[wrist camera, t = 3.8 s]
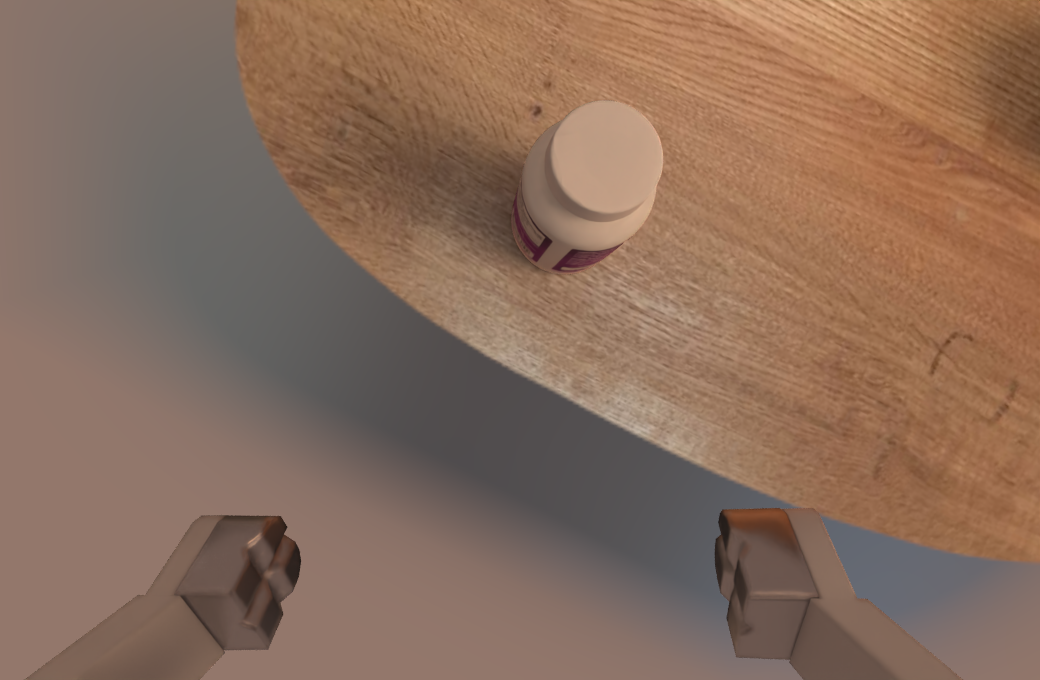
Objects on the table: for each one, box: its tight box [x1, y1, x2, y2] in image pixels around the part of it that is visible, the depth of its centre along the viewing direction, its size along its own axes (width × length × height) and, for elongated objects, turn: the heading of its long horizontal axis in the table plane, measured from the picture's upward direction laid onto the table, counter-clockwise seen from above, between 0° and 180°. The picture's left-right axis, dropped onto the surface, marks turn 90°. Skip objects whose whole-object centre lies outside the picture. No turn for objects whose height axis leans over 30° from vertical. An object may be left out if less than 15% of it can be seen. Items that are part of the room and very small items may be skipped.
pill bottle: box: [511, 100, 663, 275], centre depth 24 cm, size 5×5×10 cm
